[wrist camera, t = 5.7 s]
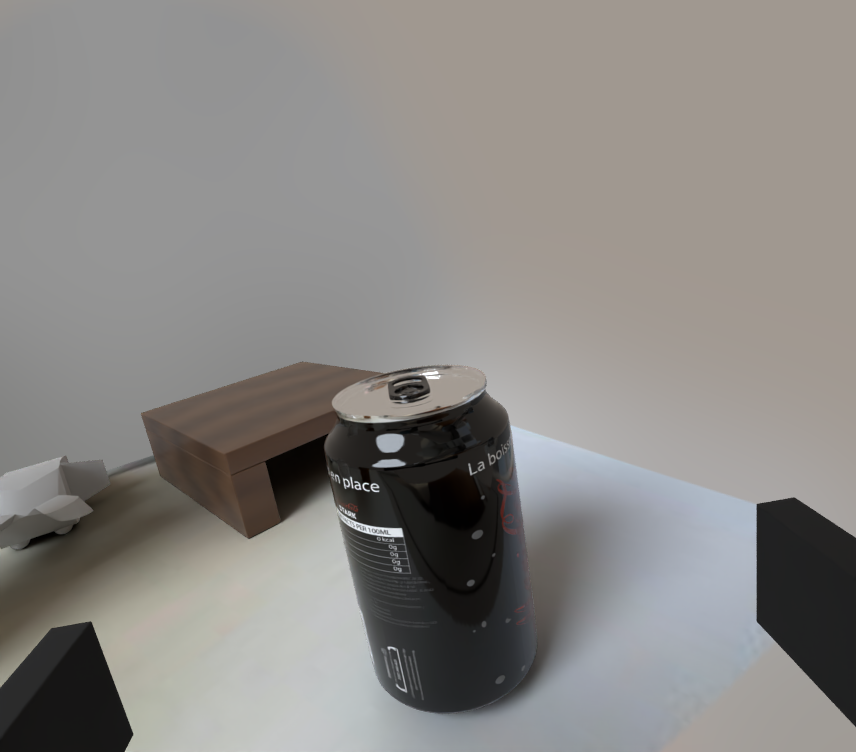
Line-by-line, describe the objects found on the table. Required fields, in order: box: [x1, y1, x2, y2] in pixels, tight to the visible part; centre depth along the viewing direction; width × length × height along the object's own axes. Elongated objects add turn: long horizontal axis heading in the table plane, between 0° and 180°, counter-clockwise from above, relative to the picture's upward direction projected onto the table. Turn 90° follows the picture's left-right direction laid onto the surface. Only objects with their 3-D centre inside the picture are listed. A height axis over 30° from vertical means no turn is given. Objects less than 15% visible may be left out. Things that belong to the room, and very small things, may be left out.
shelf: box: [141, 362, 384, 538], centre depth 46 cm, size 18×16×6 cm
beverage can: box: [324, 365, 537, 714], centre depth 21 cm, size 7×7×12 cm
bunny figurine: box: [0, 456, 110, 549], centre depth 41 cm, size 10×5×15 cm
